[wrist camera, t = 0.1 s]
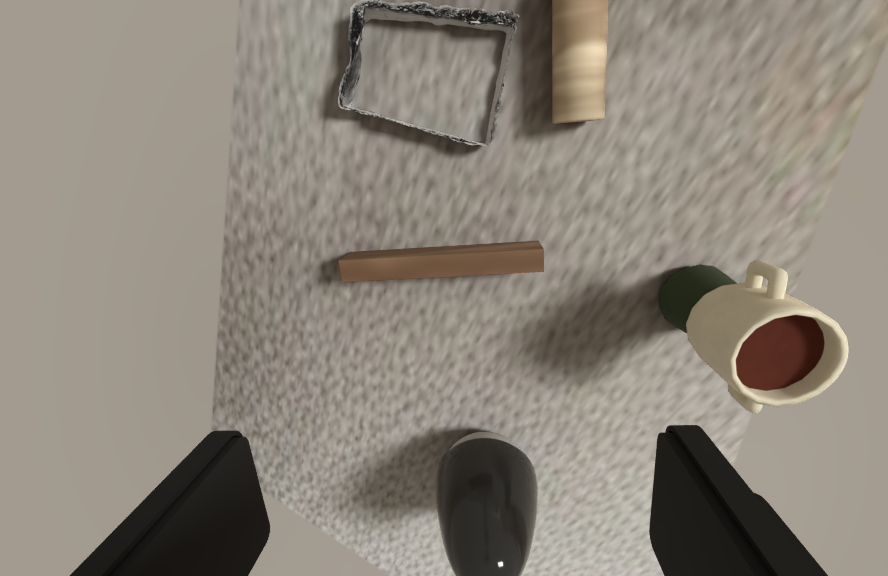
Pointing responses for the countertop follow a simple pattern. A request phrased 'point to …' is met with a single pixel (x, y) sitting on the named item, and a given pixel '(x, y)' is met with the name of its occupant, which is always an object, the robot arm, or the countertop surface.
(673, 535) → the robot arm
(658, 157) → the countertop surface
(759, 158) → the countertop surface
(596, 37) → the roller
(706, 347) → the character mug
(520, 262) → the stop rail
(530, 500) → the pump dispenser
